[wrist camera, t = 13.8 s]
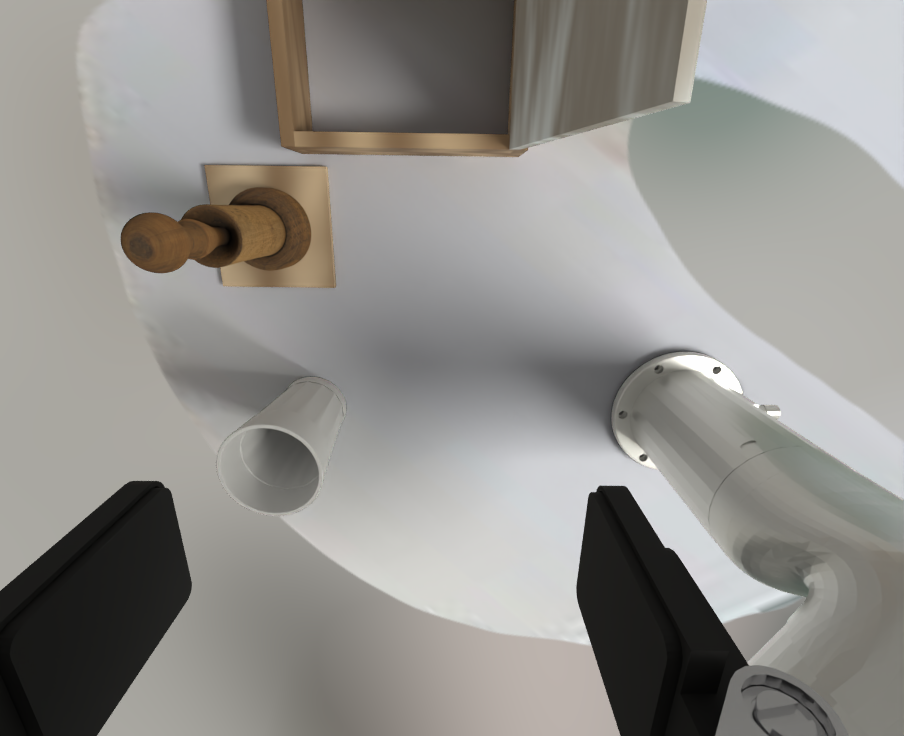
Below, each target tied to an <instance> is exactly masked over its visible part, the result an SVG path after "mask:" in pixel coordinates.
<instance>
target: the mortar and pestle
mask: <svg viewBox="0 0 904 736" xmlns="http://www.w3.org/2000/svg"><path fill="white" fill-rule="evenodd" d="M310 243H311V226H310V222H309V219H308V216H307V214H306V212H305V210H304V209H303V207H302V206H301V205H300V204H299V202H298V201H297V200H296V199H294V198H293V197H292V196H290V195H289V194H287V193H285V192H283V191H281V190H277V189H273V188H262V187H256V188H250V189H246V190H244V191H242V192H240V193H239V194H237V195H236V196H235V197H234V198H233V199H232V201H231V202H230V204H229V205H198V206H195V207H193V208H191V209H190V210H188V211H187V212H186V213H185V214H184V216H183V217H182V219H181V220H180V221H178V222H177V221H175V220H174V219H172V218H171V217H169V216H166V215H164V214H160V213H143V214H139V215H137V216H135V217H133V218H132V219H130V220H129V221H128V222H127V223H126V224H125V226H124V228H123V230H122V233H121V245H122V248H123V251H124V253H125V254H126V256H127V257H128V258H129V260H130V261H131V262H133V263H134V264H135V265H136V266H138V267H140V268H142V269H144V270H146V271H149V272H154V273H168V272H172V271H175V270H177V269H179V268H180V267H181V266H182V265H184V263H185V262H186V261H187V259H193V260H195V261H197V262H198V263H200V264H202V265H205V266H208V267H213V268H219V267H225V266H228V265H232V264H235V263H239V262H243V261H244V262H246V263H247V264H249V265H251V266H253V267H255V268H258V269H261V270H267V271H274V270H280V269H284V268H288V267H290V266H293V265H295V264H296V263H298V262H299V261H300V260H301V259H302V258H303V257H304V256H305V255H306V253H307V251H308V249H309V246H310Z"/></svg>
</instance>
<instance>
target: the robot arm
mask: <svg viewBox="0 0 904 736" xmlns="http://www.w3.org/2000/svg"><path fill="white" fill-rule="evenodd" d="M656 366H657V368H655V367H656ZM621 411H622V412H621ZM620 412H621V413H620ZM780 412H781V411H780V408H779V407H778V406H777V405H757V404H756V403H754V402H753V401H751V400H750V399H748V398H746V397H745V396H743V391H742V389H741V386H740V383H739V381H738V379H737V378H736V376H735V375H734V373H733V372H732V371H731V370H730V369H729V368H728V367H727V366H725V365H724V364H723V363H721V362H719V361H718V360H716V359H714V358H712V357H710V356H707V355H705V354H701V353H696V352H675V353H669V354H665V355H662V356H659V357H657V358H654V359H652V360H650V361H649V362H647V363H645V364H643V365H642V366H641V367H639V368H638V369H637V370H635V371H634V372H633V373H632V374H631V375H630V376H629V377H628V378H627V379H626V381H625V382H624V383H623V385H622V386H621V388H620V389H619V391H618V393H617V395H616V398H615V400H614V403H613V408H612V413H611V422H612V428H613V433H614V436H615V438H616V440H617V442H618V444H619V445H620V446H621V448H622V449H623V451H624V452H625V453H626V454H627V455H628V456H629V457H630V458H631V459H633V460H634V461H636V462H637V463H639V464H641V465H643V466H646V467H649V468H652V469H657V470H659V471H660V472H661V474H662V475H663V476H664V477H665V479H666V480H667V481H668V482H669V484H670V485H671V486H672V488H673V489H674V490H675V491H676V493H677V494H678V495H679V496H680V498H681V499H682V500H683V502H684V503H685V504H686V505H687V507H688V508H689V509H690V510H691V512H692V513H693V514H694V516H695V517H696V518H697V519H698V521H699V522H700V523H701V524H702V526H703V527H704V528H705V529H706V531H707V532H708V533H709V535H710V536H711V537H712V538H713V540H714V541H715V542H716V543H717V544H718V546H719V547H720V548H721V549H722V551H723V552H724V553H725V555H726V556H727V557H728V558H729V559H730V560H731V561H732V562H733V563H734V564H735V565H736V566H737V567H738V568H739V569H740V570H742V571H743V572H744V573H745V574H747V575H748V576H750V577H752V578H753V579H755V580H757V581H758V582H760V583H762V584H765V585H767V586H770V587H772V588H775V589H777V590H780V591H783V592H787V593H791V594H794V595H798V596H802V597H806V599H805V601H804V603H803V604H802V605H801V606H800V607H799V608H798V609H797V610H796V611H795V612H794V614H793V615H792V616H791V617H790V618H789V619H788V621H787V624H785V625H784V627H782V629H780V631H778V632H777V633H776V634H775V636H773V637H772V638H771V639H770V640H769V641H768V642H767V643H766V644H765V645H764V646H763V647H762V648H761V649H760V650H759V651H758V652H757V653H756V654H755V655H754V656H753V657H752V658H751V659H750V660H749V661H748V662H746V660H745V659H744V657H743V656H742V654H741V652H740V651H739V649H738V648H737V646H736V645H735V643H734V642H733V640H732V639H731V637H730V635H729V634H728V632H727V631H726V629H725V628H724V626H723V625H722V623H721V621H720V620H719V618H718V617H717V615H716V614H715V612H714V611H713V609H712V608H711V606H710V604H709V603H708V601H707V600H706V598H705V597H704V595H703V594H702V592H701V591H700V589H699V588H698V586H697V584H696V583H695V581H694V580H693V578H692V577H691V575H690V574H689V572H688V571H687V569H686V568H685V566H684V564H683V563H682V561H681V560H680V558H679V557H678V555H677V554H676V553H675V552H674V551H673V550H671V549H670V548H665V547H664V546H663V544H662V542H661V541H660V539H659V538H658V536H657V534H656V533H655V531H654V530H653V528H652V526H651V525H650V523H649V522H648V520H647V518H646V517H645V515H644V514H643V512H642V510H641V509H640V507H639V506H638V504H637V502H636V501H635V499H634V498H633V496H632V494H631V493H630V491H629V490H628V488H627V487H625V486H599V487H598V489H597V492H591V493H590V494H589V497H588V504H587V512H586V519H585V526H584V534H583V541H582V549H581V556H580V564H579V571H578V579H577V588H576V589H577V600H578V604H579V607H580V610H581V614H582V617H583V620H584V623H585V626H586V629H587V632H588V635H589V639H590V642H591V645H592V648H593V651H594V654H595V657H596V660H597V664H598V667H599V670H600V673H601V676H602V679H603V682H604V685H605V689H606V692H607V695H608V698H609V701H610V704H611V707H612V710H613V714H614V717H615V720H616V723H617V726H618V729H619V732H620V735H621V736H904V500H903V499H902V498H900V497H898V496H897V495H895V494H893V493H892V492H890V491H888V490H887V489H885V488H883V487H882V486H880V485H878V484H877V483H875V482H873V481H872V480H870V479H868V478H867V477H865V476H863V475H862V474H860V473H859V472H857V471H856V470H854V469H852V468H851V467H849V466H848V465H846V464H845V463H843V462H842V461H840V460H839V459H837V458H835V457H834V456H832V455H831V454H829V453H827V452H826V451H824V450H823V449H821V448H820V447H818V446H816V445H815V444H813V443H812V442H810V441H809V440H807V439H806V438H804V437H803V436H801V435H800V434H798V433H797V432H795V431H794V430H792V429H790V428H789V427H787V426H786V425H784V424H783V423H781V422H780V421H778V420H777V419H778V418H779V417H780ZM191 587H192V582H191V577H190V573H189V569H188V564H187V560H186V555H185V551H184V546H183V543H182V538H181V533H180V529H179V525H178V520H177V516H176V511H175V508H174V503H173V498H172V494H171V491H170V490H169V489H168V488H165V487H164V485H163V484H162V483H161V482H159V481H131V482H129V483H127V484H125V485H124V486H123V487H122V488H121V489H119V490H118V491H117V492H116V493H115V494H114V495H112V496H111V497H110V498H109V499H108V500H106V501H105V502H104V503H103V504H102V505H101V506H99V507H98V508H97V509H96V510H95V511H93V512H92V513H91V514H90V515H89V516H88V517H86V518H85V519H84V520H83V521H82V522H81V523H79V524H78V525H77V526H76V527H75V528H74V529H72V530H71V531H70V532H69V533H68V534H66V535H65V536H64V537H63V538H62V539H61V540H59V541H58V542H57V543H56V544H55V545H54V546H52V547H51V548H50V549H49V550H48V551H47V552H46V553H44V554H43V555H42V556H41V557H40V558H38V559H37V560H36V561H35V562H34V563H33V564H31V565H30V566H29V567H28V568H27V569H25V570H24V571H23V572H22V573H21V574H20V575H18V576H17V577H16V578H15V579H14V580H13V581H11V582H10V583H9V584H8V585H7V586H5V587H4V588H3V589H2V590H1V591H0V736H97V735H98V733H99V732H100V730H101V729H102V727H103V726H104V724H105V723H106V721H107V720H108V718H109V717H110V715H111V714H112V712H113V711H114V709H115V708H116V706H117V705H118V703H119V702H120V700H121V699H122V697H123V696H124V694H125V693H126V691H127V690H128V688H129V687H130V685H131V684H132V682H133V681H134V679H135V678H136V676H137V675H138V673H139V672H140V670H141V669H142V667H143V666H144V664H145V663H146V661H147V660H148V658H149V657H150V655H151V654H152V653H153V651H154V649H155V648H156V647H157V645H158V644H159V642H160V640H161V639H162V638H163V636H164V634H165V633H166V632H167V630H168V628H169V627H170V626H171V624H172V622H173V621H174V620H175V618H176V617H177V615H178V614H179V612H180V611H181V609H182V608H183V606H184V605H185V603H186V602H187V600H188V598H189V596H190V593H191Z"/></svg>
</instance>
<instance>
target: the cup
mask: <svg viewBox="0 0 904 736" xmlns="http://www.w3.org/2000/svg"><path fill="white" fill-rule="evenodd" d="M345 415H346V402H345V398H344V396H343V394H342V393H341V391H340V390H339V389H338V388H337V387H336V386H335V385H334V384H333V383H331V382H329V381H328V380H325V379H323V378H319V377H304V378H301V379H298V380H296V381H295V382H293V383H292V384H291V385H290V386H289V387H288V388H287V389H286V390H285V391H284V393H283V394H281V395H280V396H279V397H278V398H277V399H275V400H274V401H273V402H272V403H271V404H269V405H268V406H267V407H266V408H265V409H263V410H262V411H261V412H260V413H259V414H257V415H256V416H254V417H252V418H251V419H250V420H249V421H247V422H246V423H245V424H244V425H242V426H241V427H240V428H238V429H237V430H236V431H235V432H233V433H232V434H231V435H230V436H228V437H227V438H226V440H225V441H224V442H223V444H222V445H221V447H220V449H219V451H218V455H217V461H216V468H217V474H218V477H219V480H220V482H221V484H222V486H223V488H224V489H225V491H226V492H227V493H228V494H229V496H231V498H232V499H233V500H235V501H236V502H237V503H238V504H240V505H241V506H243V507H245V508H246V509H249V510H251V511H253V512H256V513H260V514H263V515H270V516H284V515H290V514H293V513H296V512H299V511H301V510H303V509H304V508H306V507H307V506H309V505H310V504H311V503H312V502H313V501H314V500H315V499H316V497H317V496H318V494H319V492H320V490H321V487H322V484H323V480H324V477H325V474H326V470H327V467H328V464H329V460H330V457H331V454H332V451H333V448H334V445H335V442H336V439H337V436H338V433H339V430H340V427H341V424H342V422H343V420H344V418H345Z"/></svg>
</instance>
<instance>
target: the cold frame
mask: <svg viewBox="0 0 904 736" xmlns="http://www.w3.org/2000/svg"><path fill="white" fill-rule="evenodd" d="M266 1H267V11H268V21H269V31H270V41H271V50H272V60H273V70H274V80H275V90H276V100H277V109H278V119H279V129H280V139H281V146H282V147H285V148H287V149H290V150H293V151H296V152H299V153H301V154H348V155H418V156H487V157H519V156H520V155H522V154H523V153H525V152H526V151H527V150H528V147H532V146H536V145H539V144H543V143H546V142H550V141H554V140H557V139H561V138H565V137H568V136H572V135H575V134H579V133H583V132H586V131H590V130H593V129H597V128H601V127H604V126H608V125H612V124H615V123H619V122H622V121H626V120H630V119H633V118H637V117H640V116H644V115H648V114H651V113H655V112H658V111H662V110H665V109H669V108H673V107H676V106H680V105H684V104H687V103H690V100H691V94H692V88H693V82H694V76H695V70H696V64H697V58H698V52H699V46H700V40H701V34H702V28H703V22H704V16H705V10H706V4H707V0H514V13H513V34H512V54H511V75H510V96H509V116H508V134H448V133H380V132H313V129H312V117H311V104H310V92H309V80H308V67H307V55H306V42H305V30H304V17H303V5H302V0H266Z"/></svg>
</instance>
